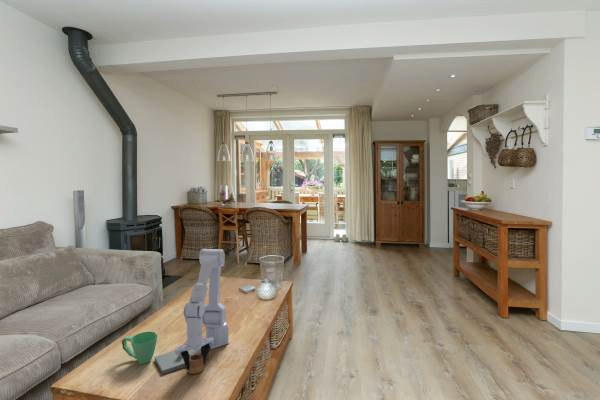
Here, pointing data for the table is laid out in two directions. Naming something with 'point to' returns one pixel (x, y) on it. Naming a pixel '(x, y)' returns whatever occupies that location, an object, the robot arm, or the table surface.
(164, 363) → the post board
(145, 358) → the mug
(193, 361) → the tube
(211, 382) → the table surface
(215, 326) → the robot arm
